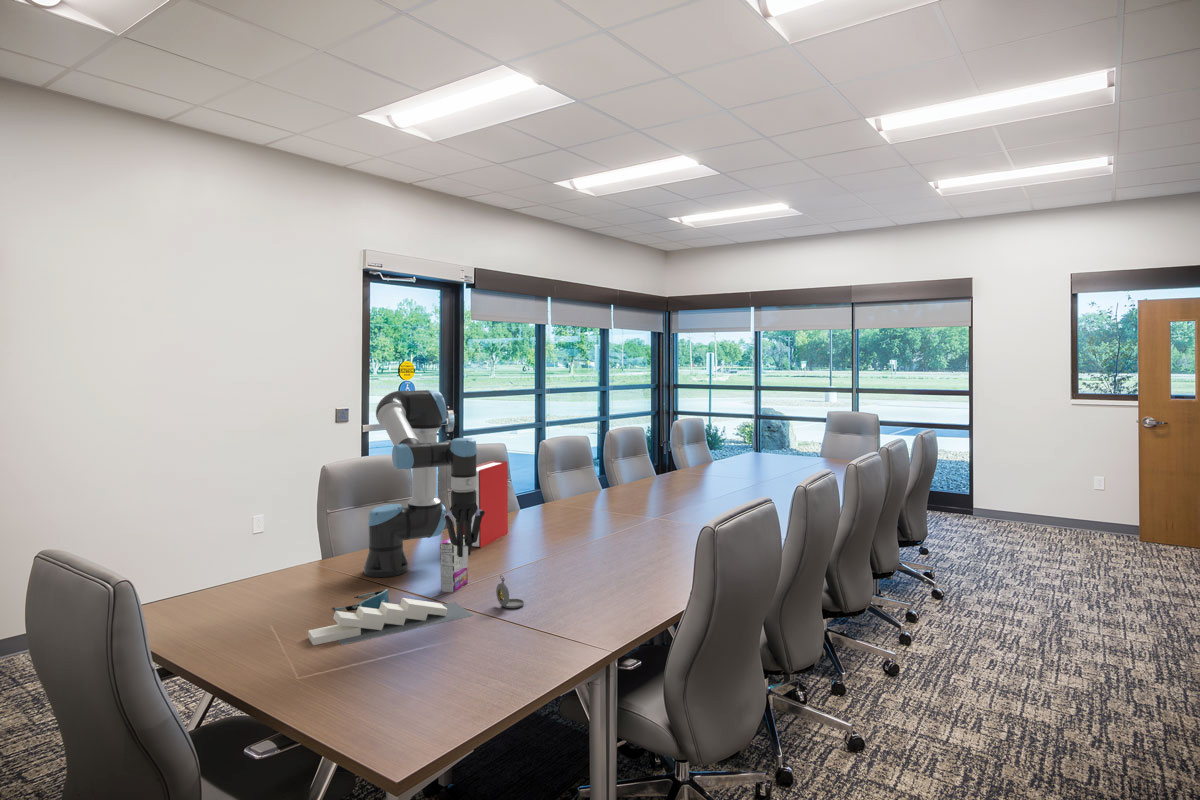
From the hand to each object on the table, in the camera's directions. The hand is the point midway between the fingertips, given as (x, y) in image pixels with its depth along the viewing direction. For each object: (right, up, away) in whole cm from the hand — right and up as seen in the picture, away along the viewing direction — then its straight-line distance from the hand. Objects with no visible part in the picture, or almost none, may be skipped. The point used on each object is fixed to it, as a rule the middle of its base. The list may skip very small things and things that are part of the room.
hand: (463, 566), depth 201 cm
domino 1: (-25, -12, -20) cm, 34 cm away
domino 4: (-10, -11, -10) cm, 18 cm away
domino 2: (-20, -12, -17) cm, 28 cm away
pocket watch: (+14, -13, +1) cm, 18 cm away
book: (-7, -9, +81) cm, 82 cm away
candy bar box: (-7, -12, +18) cm, 23 cm away
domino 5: (-5, -11, -6) cm, 14 cm away
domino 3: (-15, -12, -13) cm, 23 cm away
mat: (-15, -13, -13) cm, 23 cm away
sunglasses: (-31, -13, +2) cm, 34 cm away
